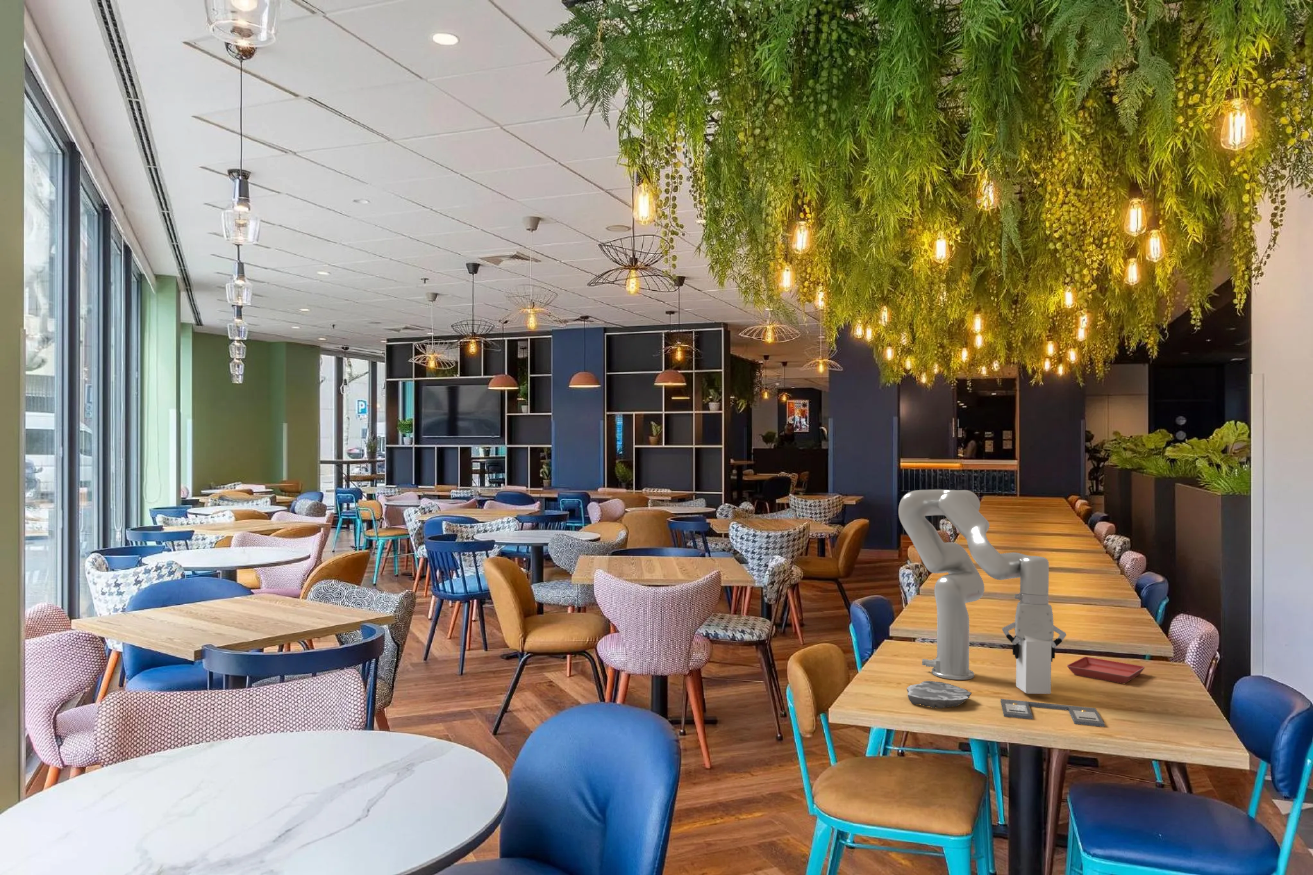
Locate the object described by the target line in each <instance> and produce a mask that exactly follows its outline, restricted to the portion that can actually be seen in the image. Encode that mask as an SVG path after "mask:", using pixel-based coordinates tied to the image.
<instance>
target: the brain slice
mask: <svg viewBox="0 0 1313 875" xmlns="http://www.w3.org/2000/svg"><path fill="white" fill-rule="evenodd" d="M906 691H907V698H908V701H909V702H910V703H911V704H913V705H916V704H921V705H920V706H923V705H924V707H927V706H930V707H929V708H931V707H932V708H931V709H944V708H953V707H952V706H954V707H958V706H960V705H961V704H963V703H965V702H966V701H967V700H969V698H970V697H971V695H972V691H969V690H967V688H966V689H965V688H962V687H960V686H957V685H954V684H951V683H946V682H942V681H933V680H924V681H922V682H920V683H917V684H911V685H909V686H907V687H906ZM935 707H936V708H935Z"/></svg>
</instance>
